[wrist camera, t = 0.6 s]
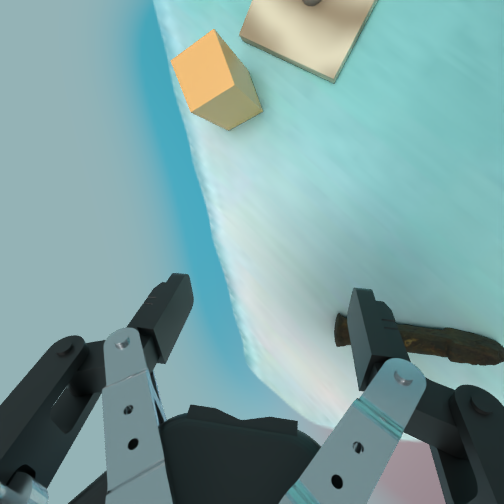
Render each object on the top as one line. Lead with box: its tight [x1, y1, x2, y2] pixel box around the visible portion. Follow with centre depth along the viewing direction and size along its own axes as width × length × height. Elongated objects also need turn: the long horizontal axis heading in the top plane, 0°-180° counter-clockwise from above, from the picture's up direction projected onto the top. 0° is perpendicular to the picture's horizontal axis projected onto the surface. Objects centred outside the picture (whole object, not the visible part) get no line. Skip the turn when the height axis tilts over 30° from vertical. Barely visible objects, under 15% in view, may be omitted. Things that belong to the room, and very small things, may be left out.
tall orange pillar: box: [171, 29, 263, 131], centre depth 31 cm, size 5×5×10 cm
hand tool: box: [334, 313, 504, 366], centre depth 34 cm, size 19×4×5 cm, turn 90°
